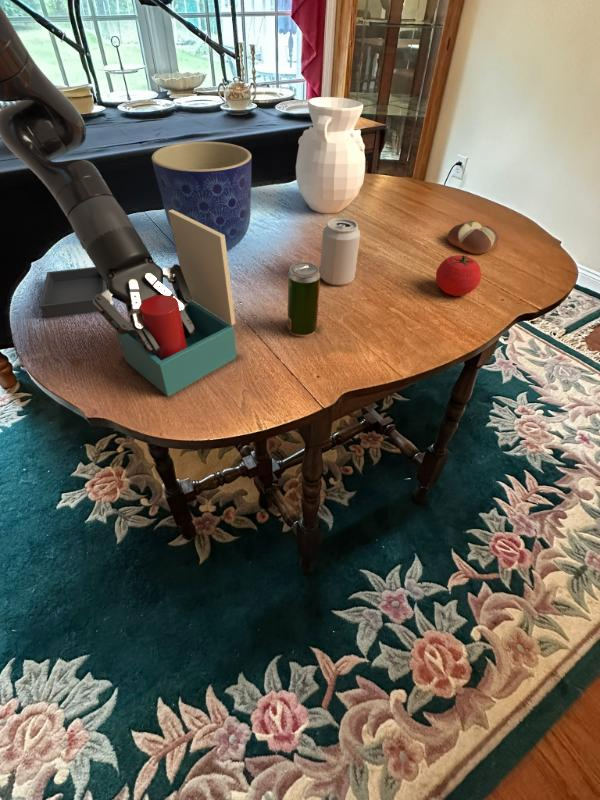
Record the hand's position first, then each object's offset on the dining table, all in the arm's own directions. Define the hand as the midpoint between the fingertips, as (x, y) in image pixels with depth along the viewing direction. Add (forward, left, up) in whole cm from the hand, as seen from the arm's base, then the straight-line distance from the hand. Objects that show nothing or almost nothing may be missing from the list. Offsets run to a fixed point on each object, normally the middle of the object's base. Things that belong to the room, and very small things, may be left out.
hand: (174, 343), depth 64 cm
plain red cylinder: (-1, +2, -6) cm, 6 cm away
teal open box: (+1, +5, -7) cm, 8 cm away
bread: (+75, +32, -7) cm, 81 cm away
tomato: (+58, +13, -7) cm, 59 cm away
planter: (+13, +48, -7) cm, 50 cm away
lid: (+6, +8, +7) cm, 12 cm away
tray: (-16, +30, -7) cm, 35 cm away
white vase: (+48, +63, -7) cm, 79 cm away
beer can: (+23, +8, -7) cm, 25 cm away
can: (+36, +24, -7) cm, 43 cm away
